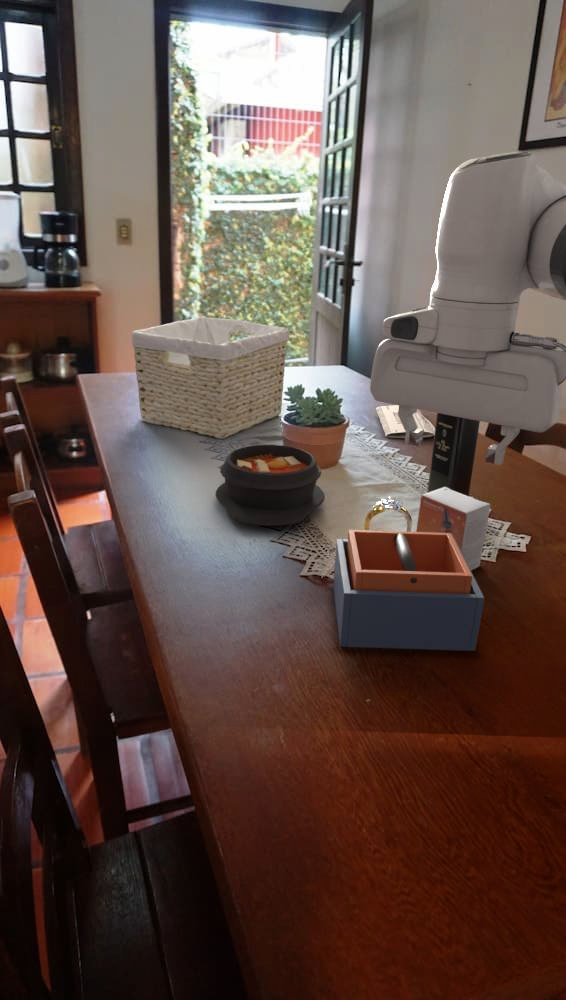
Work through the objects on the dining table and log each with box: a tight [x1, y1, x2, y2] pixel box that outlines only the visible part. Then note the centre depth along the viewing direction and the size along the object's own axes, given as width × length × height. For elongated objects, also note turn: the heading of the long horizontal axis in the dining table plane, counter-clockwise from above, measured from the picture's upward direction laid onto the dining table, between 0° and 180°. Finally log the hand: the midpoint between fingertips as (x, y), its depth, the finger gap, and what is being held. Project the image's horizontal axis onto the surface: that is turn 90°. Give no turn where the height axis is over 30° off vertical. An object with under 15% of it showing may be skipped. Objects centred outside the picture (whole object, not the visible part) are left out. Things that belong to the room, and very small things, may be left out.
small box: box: [415, 487, 491, 571], centre depth 97 cm, size 8×6×10 cm
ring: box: [363, 496, 413, 532], centre depth 102 cm, size 7×3×8 cm, turn 73°
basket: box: [131, 315, 290, 440], centre depth 158 cm, size 27×27×22 cm
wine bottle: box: [426, 413, 481, 497], centre depth 114 cm, size 6×6×30 cm
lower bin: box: [332, 538, 485, 652], centre depth 83 cm, size 16×14×8 cm
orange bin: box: [346, 529, 473, 594], centre depth 83 cm, size 13×11×9 cm
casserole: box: [215, 444, 326, 527], centre depth 115 cm, size 25×19×8 cm
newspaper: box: [375, 404, 435, 439], centre depth 163 cm, size 23×12×2 cm, turn 179°
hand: (452, 453), depth 76 cm, fingers open, 8 cm apart
